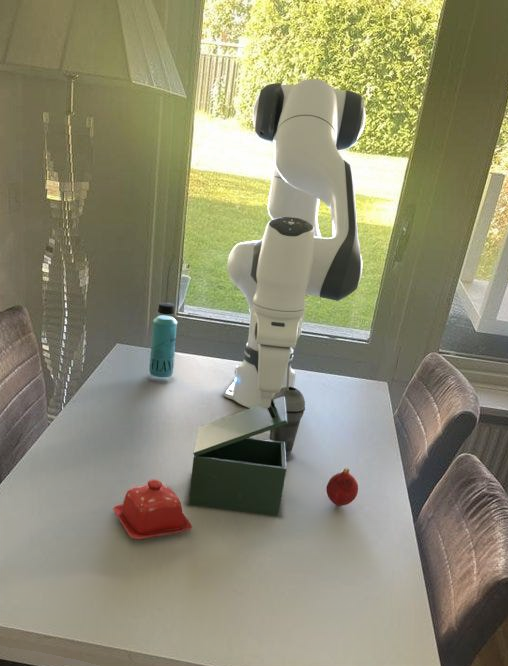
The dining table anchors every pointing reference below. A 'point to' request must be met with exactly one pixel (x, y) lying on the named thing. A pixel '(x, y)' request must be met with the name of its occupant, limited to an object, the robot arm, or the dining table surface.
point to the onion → (342, 488)
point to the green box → (240, 477)
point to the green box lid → (240, 426)
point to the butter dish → (151, 511)
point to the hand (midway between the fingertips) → (264, 398)
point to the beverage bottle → (163, 342)
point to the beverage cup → (289, 416)
